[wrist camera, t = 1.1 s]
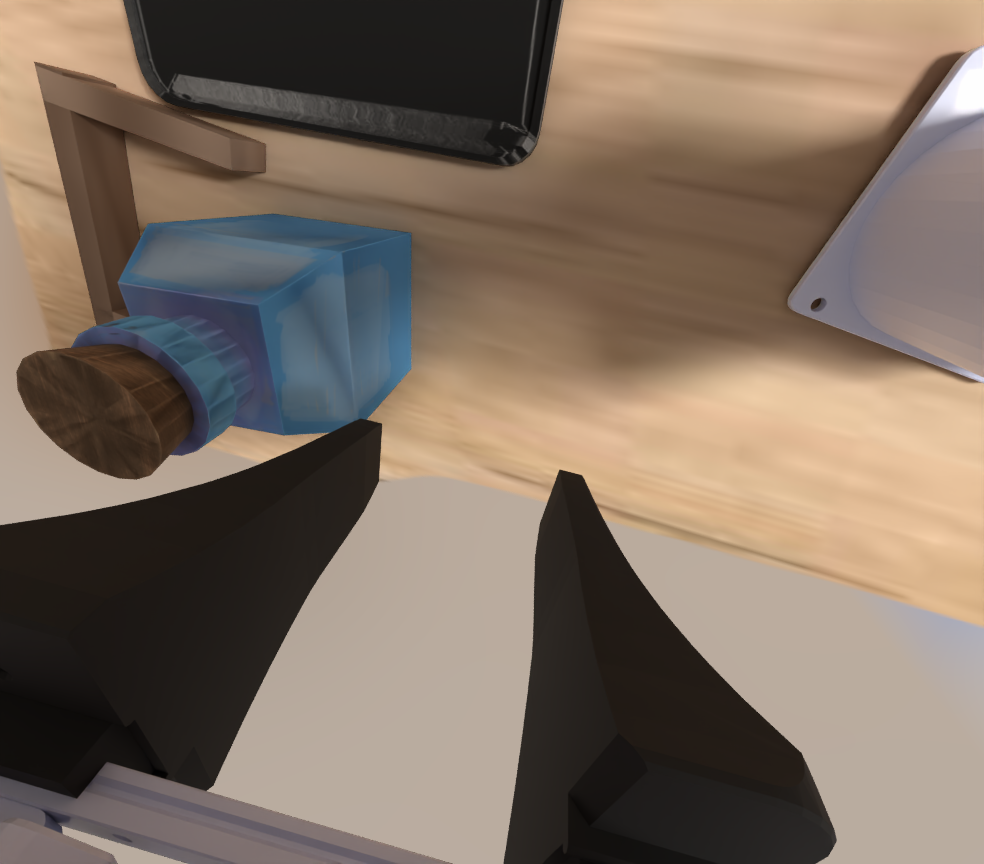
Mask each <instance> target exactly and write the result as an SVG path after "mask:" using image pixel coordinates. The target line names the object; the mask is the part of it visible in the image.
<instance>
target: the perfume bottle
mask: <svg viewBox="0 0 984 864" xmlns="http://www.w3.org/2000/svg"><path fill="white" fill-rule="evenodd" d="M118 285H119V288H120V291H121V293H122V296H123V299H124V301H125V304H126V307H127V310H128V312H129V315H130V316H129V317H126V318H122V319H119V320H116V321H112V322H109V323H105V324H102V325H98V326H95V327H92V328H90V329H88V330H86V331H84V332H82V333H80V334H79V335H78V337H77V338H76V340H75V342H74V344H73V345H72V347H71V348H65V349H56V350H47V351H37V352H35V353H33V354H32V355H29V356H27V357H25V358H23V359H22V361H21V364H20V366H19V368H18V370H17V386H18V391H19V393H20V395H21V398H22V400H23V403H24V405H25V407H26V409H27V411H28V412H29V413H30V415H31V416H32V418H33V419H34V420H35V422H36V423H37V425H38V426H39V427H40V429H41V430H42V431H43V432H44V433H46V435H47V436H48V437H49V438H50V439H51V440H52V441H53V442H55V443H56V445H57V446H59V447H60V448H61V449H63V450H64V451H66V452H67V453H68V454H70V455H71V456H72V457H74V458H75V459H76V460H78V461H79V462H81V463H83V464H85V465H87V466H89V467H91V468H93V469H94V470H97V471H98V472H101V473H104V474H107V475H110V476H114V477H117V478H122V479H140V478H143V477H146V476H150V475H151V474H152V473H153V472H154V471H155V470H156V469H157V468H158V467H159V466H160V465H161V464H162V463H163V461H164V460H165V459H166V458H167V457H168V456H169V455H181V456H182V455H185V454H189V453H192V452H195V451H197V450H199V449H200V448H202V447H203V446H204V445H206V444H207V443H209V442H210V441H212V440H213V439H214V438H216V437H217V436H219V435H220V434H222V433H223V432H224V431H225V430H226V429H227V428H228V427H229V426H230V425H231V426H237V427H242V428H248V429H253V430H258V431H264V432H269V433H274V434H280V435H298V434H314V433H331V432H333V431H335V430H337V429H339V428H341V427H343V426H345V425H347V424H349V423H351V422H353V421H356V420H358V419H360V418H362V419H366V420H367V419H368V417H369V416H370V415H371V414H372V413H373V412H374V411H375V409H376V408H377V407H378V406H379V405H380V404H381V403H382V401H383V400H384V399H385V398H386V397H387V396H388V395H389V393H390V392H391V391H392V390H393V389H394V388H395V387H396V385H397V384H398V383H399V382H400V381H401V380H402V379H403V377H404V376H405V375H406V374H407V373H408V372H409V371H410V370H411V233H408V232H401V231H394V230H387V229H379V228H372V227H365V226H358V225H351V224H343V223H336V222H329V221H322V220H315V219H308V218H300V217H293V216H286V215H279V214H264V215H252V216H239V217H227V218H214V219H201V220H189V221H176V222H164V223H151V224H148V225H147V227H146V229H145V231H144V232H143V234H142V236H141V238H140V240H139V242H138V244H137V246H136V248H135V250H134V252H133V254H132V256H131V257H130V259H129V261H128V263H127V265H126V267H125V269H124V271H123V273H122V275H121V277H120V279H119V281H118Z"/></svg>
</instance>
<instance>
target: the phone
mask: <svg viewBox="0 0 984 864" xmlns="http://www.w3.org/2000/svg"><path fill="white" fill-rule="evenodd" d="M123 1H124V5H125V9H126V13H127V17H128V22H129V26H130V30H131V34H132V39H133V43H134V47H135V51H136V55H137V60H138V63H139V65H140V68H141V71H142V74H143V76H144V77H145V79H146V81H147V83H148V84H149V86H150V87H151V88H152V89H153V91H154V92H155V93H156V94H157V95H158V96H159V97H161V98H162V99H163V100H165V101H166V102H168V103H171V104H173V105H176V106H181V107H185V108H190V109H195V110H200V111H206V112H211V113H217V114H222V115H228V116H233V117H239V118H244V119H250V120H255V121H261V122H266V123H272V124H277V125H282V126H288V127H293V128H299V129H304V130H310V131H315V132H321V133H326V134H332V135H337V136H343V137H348V138H354V139H359V140H364V141H370V142H375V143H381V144H386V145H392V146H397V147H403V148H408V149H414V150H419V151H425V152H430V153H436V154H441V155H447V156H452V157H457V158H463V159H468V160H474V161H479V162H485V163H490V164H496V165H501V166H513V165H516V164H518V163H521V162H523V161H524V160H525V159H526V158H527V157H528V156H530V155H531V153H532V151H533V150H534V148H535V147H536V145H537V142H538V138H539V135H540V131H541V125H542V120H543V114H544V108H545V103H546V97H547V91H548V86H549V80H550V74H551V69H552V63H553V57H554V52H555V46H556V40H557V35H558V29H559V24H560V18H561V12H562V7H563V1H564V0H123Z"/></svg>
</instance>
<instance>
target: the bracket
mask: <svg viewBox="0 0 984 864" xmlns="http://www.w3.org/2000/svg"><path fill="white" fill-rule="evenodd" d="M34 63H35V67H36V71H37V76H38V80H39V84H40V88H41V92H42V97H43V101H44V105H45V109H46V113H47V118H48V122H49V126H50V130H51V135H52V139H53V143H54V147H55V151H56V156H57V160H58V164H59V168H60V172H61V177H62V181H63V185H64V189H65V194H66V198H67V202H68V206H69V210H70V215H71V219H72V223H73V227H74V231H75V236H76V240H77V244H78V248H79V253H80V257H81V261H82V265H83V269H84V274H85V278H86V282H87V286H88V290H89V295H90V299H91V303H92V307H93V312H94V316H95V320H96V324H97V326H98V325H102V324H105V323H109V322H112V321H116V320H119V319H122V318H126V317H129V316H130V315H129V312H128V310H127V307H126V304H125V301H124V299H123V296H122V293H121V291H120V288H119V285H118V281H119V279H120V277H121V275H122V273H123V271H124V269H125V267H126V265H127V263H128V261H129V259H130V257H131V256H132V254H133V252H134V250H135V248H136V246H137V244H138V242H139V240H140V237H139V230H138V224H137V218H136V211H135V205H134V198H133V192H132V186H131V179H130V173H129V167H128V160H127V154H126V147H125V141H124V135H123V130H125V131H127V132H130V133H133V134H135V135H138V136H141V137H144V138H146V139H149V140H152V141H154V142H157V143H160V144H162V145H165V146H168V147H170V148H173V149H176V150H178V151H181V152H184V153H186V154H189V155H192V156H194V157H197V158H200V159H202V160H205V161H208V162H211V163H213V164H216V165H219V166H221V167H224V168H227V169H229V170H235V171H252V172H266V144H264V143H262V142H259V141H256V140H254V139H251V138H248V137H246V136H243V135H240V134H238V133H235V132H232V131H230V130H227V129H224V128H222V127H219V126H216V125H214V124H211V123H208V122H206V121H203V120H200V119H198V118H195V117H192V116H190V115H187V114H184V113H182V112H179V111H177V110H174V109H171V108H169V107H166V106H163V105H161V104H158V103H155V102H153V101H150V100H147V99H145V98H142V97H139V96H137V95H134V94H131V93H129V92H126V91H123V90H121V89H118V88H116V85H115V84H113V83H110V82H107V81H105V80H102V79H99V78H97V77H94V76H91V75H87V74H83V73H79V72H75V71H71V70H67V69H62V68H58V67H54V66H50V65H46V64H42V63H38V62H34Z"/></svg>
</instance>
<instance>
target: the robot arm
mask: <svg viewBox="0 0 984 864" xmlns="http://www.w3.org/2000/svg"><path fill="white" fill-rule="evenodd" d="M818 298H821V303H820V305H819V306H818V307H817V308H815V309H811V307H810V306H811V304H812V302H813V301H814V300H816V299H818ZM787 304H788V306H789V308H790V309H791V310H793V311H795V312H797V313H799V314H802V315H805V316H807V317H810V318H812V319H815V320H818V321H820V322H823V323H826V324H828V325H831V326H834V327H836V328H839V329H842V330H844V331H847V332H849V333H852V334H855V335H857V336H860V337H863V338H865V339H868V340H871V341H873V342H876V343H879V344H881V345H884V346H886V347H889V348H892V349H894V350H897V351H900V352H902V353H905V354H908V355H910V356H913V357H916V358H918V359H921V360H923V361H926V362H929V363H931V364H934V365H937V366H939V367H942V368H945V369H947V370H950V371H953V372H955V373H958V374H960V375H963V376H966V377H968V378H971V379H974V380H976V381H979V382H982V383H984V45H983V46H980V47H977V48H974V49H971V50H969V51H968V52H967V53H965V54H964V55H962V56H961V57H960V58H959V59H958V61H957V62H956V63H955V64H954V65H953V67H952V68H951V70H950V71H949V72H948V74H947V75H946V77H945V78H944V79H943V81H942V82H941V84H940V85H939V86H938V88H937V89H936V91H935V92H934V93H933V95H932V96H931V98H930V99H929V100H928V102H927V103H926V105H925V106H924V107H923V109H922V110H921V112H920V113H919V114H918V116H917V117H916V119H915V120H914V121H913V123H912V124H911V126H910V127H909V128H908V130H907V131H906V133H905V134H904V135H903V137H902V138H901V140H900V141H899V142H898V144H897V145H896V147H895V148H894V149H893V151H892V152H891V154H890V155H889V156H888V158H887V159H886V161H885V162H884V163H883V165H882V166H881V168H880V169H879V170H878V172H877V173H876V175H875V176H874V177H873V179H872V180H871V182H870V183H869V184H868V186H867V187H866V189H865V190H864V191H863V193H862V194H861V196H860V197H859V198H858V200H857V201H856V203H855V204H854V205H853V207H852V208H851V210H850V211H849V212H848V214H847V215H846V217H845V218H844V219H843V221H842V222H841V224H840V225H839V226H838V228H837V229H836V231H835V232H834V233H833V235H832V236H831V238H830V239H829V240H828V242H827V243H826V245H825V246H824V247H823V249H822V250H821V252H820V253H819V254H818V256H817V257H816V259H815V260H814V261H813V263H812V264H811V266H810V267H809V268H808V270H807V271H806V273H805V274H804V275H803V277H802V278H801V280H800V281H799V282H798V284H797V285H796V287H795V288H794V289H793V291H792V292H791V294H790V295H789V297H788V303H787ZM381 435H382V424H381V423H377V422H373V421H369V420H366V419H362V418H360V419H358V420H356V421H353V422H351V423H349V424H347V425H345V426H343V427H341V428H339V429H337V430H335V431H333V432H331V433H329V434H326V435H324V436H322V437H320V438H318V439H316V440H314V441H312V442H310V443H308V444H305V445H303V446H301V447H299V448H297V449H295V450H292V451H290V452H288V453H285V454H283V455H280V456H278V457H276V458H273V459H271V460H269V461H266V462H264V463H261V464H259V465H256V466H254V467H251V468H249V469H246V470H243V471H240V472H238V473H235V474H232V475H229V476H226V477H223V478H220V479H217V480H214V481H210V482H207V483H204V484H201V485H197V486H193V487H189V488H186V489H182V490H178V491H175V492H171V493H167V494H163V495H160V496H156V497H152V498H148V499H144V500H139V501H135V502H130V503H126V504H122V505H117V506H112V507H106V508H102V509H96V510H92V511H86V512H81V513H75V514H70V515H64V516H57V517H51V518H44V519H38V520H32V521H25V522H18V523H12V524H5V525H0V864H118V863H117V861H116V860H115V858H114V856H113V855H112V854H110V853H108V852H105V851H103V850H100V849H98V848H95V847H93V846H91V845H88V844H86V843H83V842H81V841H78V840H76V839H73V838H71V837H69V836H66V835H63V833H62V826H65V827H68V828H71V829H75V830H78V831H81V832H85V833H88V834H91V835H95V836H98V837H101V838H104V839H108V840H111V841H115V842H118V843H121V844H125V845H128V846H131V847H135V848H138V849H141V850H144V851H148V852H151V853H154V854H158V855H161V856H164V857H168V858H171V859H174V860H178V861H181V862H184V863H188V864H452V863H449V862H445V861H442V860H438V859H435V858H431V857H428V856H425V855H421V854H417V853H415V852H411V851H408V850H404V849H401V848H397V847H394V846H391V845H387V844H384V843H381V842H377V841H373V840H370V839H367V838H364V837H360V836H357V835H353V834H350V833H347V832H343V831H340V830H336V829H333V828H329V827H326V826H323V825H319V824H316V823H312V822H309V821H305V820H302V819H298V818H295V817H292V816H289V815H285V814H282V813H279V812H275V811H272V810H268V809H265V808H262V807H258V806H255V805H251V804H248V803H244V802H241V801H238V800H234V799H231V798H228V797H224V796H221V795H217V794H214V793H211V792H207V790H208V789H209V788H211V787H212V786H213V785H214V783H215V781H216V778H217V776H218V774H219V772H220V770H221V767H222V765H223V763H224V761H225V759H226V757H227V754H228V752H229V750H230V748H231V746H232V744H233V741H234V740H235V737H236V735H237V733H238V731H239V728H240V727H241V725H242V722H243V720H244V718H245V716H246V714H247V712H248V710H249V708H250V706H251V704H252V702H253V700H254V697H255V696H256V694H257V691H258V690H259V687H260V686H261V684H262V682H263V679H264V677H265V676H266V674H267V672H268V669H269V667H270V665H271V664H272V661H273V660H274V658H275V656H276V654H277V652H278V650H279V648H280V646H281V644H282V642H283V641H284V639H285V637H286V635H287V633H288V631H289V629H290V627H291V625H292V624H293V622H294V620H295V618H296V616H297V614H298V613H299V611H300V609H301V607H302V605H303V603H304V602H305V600H306V598H307V596H308V594H309V593H310V591H311V589H312V588H313V586H314V585H315V583H316V581H317V580H318V578H319V576H320V575H321V574H322V572H323V571H324V569H325V568H326V566H327V565H328V564H329V562H330V561H331V559H332V558H333V556H334V555H335V553H336V552H337V550H338V549H339V547H340V546H341V545H342V543H343V542H344V540H345V539H346V537H347V536H348V534H349V533H350V531H351V530H352V528H353V527H354V525H355V524H356V522H357V521H358V519H359V518H360V516H361V515H362V513H363V512H364V510H365V508H366V506H367V504H368V502H369V500H370V498H371V496H372V494H373V492H374V490H375V488H376V486H377V484H378V482H379V470H380V452H381ZM534 580H535V582H534V627H533V649H532V651H533V652H532V660H531V669H530V677H529V686H528V695H527V703H526V710H525V719H524V727H523V734H522V742H521V749H520V756H519V763H518V770H517V778H516V785H515V792H514V798H513V806H512V813H511V818H510V825H509V831H508V838H507V845H506V851H505V857H504V864H816V863H818V862H819V861H821V860H823V859H824V858H826V857H828V855H829V854H830V852H831V851H832V849H833V847H834V845H835V843H836V835H835V831H834V828H833V825H832V823H831V821H830V818H829V816H828V813H827V811H826V808H825V806H824V804H823V801H822V799H821V796H820V794H819V792H818V789H817V787H816V785H815V782H814V780H813V777H812V775H811V773H810V771H809V768H808V766H807V764H806V762H805V760H804V758H803V755H802V753H801V752H800V751H799V750H797V749H796V748H795V747H794V746H793V745H792V744H791V743H790V742H789V741H788V740H787V739H786V738H785V737H784V736H782V735H781V734H780V733H779V732H778V731H777V730H776V729H775V728H774V727H773V726H772V725H771V724H770V723H769V722H767V721H766V720H765V719H764V718H763V717H762V716H761V715H760V714H759V713H758V712H756V710H755V709H754V708H752V707H751V706H750V705H749V704H748V703H747V702H746V701H745V700H744V699H743V698H742V697H741V696H740V695H739V694H738V693H737V692H736V691H735V690H734V689H733V688H732V687H731V686H730V685H729V684H728V683H727V682H726V681H725V680H724V679H723V678H722V677H721V676H720V675H719V674H718V673H717V672H716V671H715V670H714V669H713V667H712V666H711V665H709V663H708V662H707V661H706V660H705V659H704V658H703V657H702V656H701V655H700V653H698V651H697V650H696V649H695V648H694V647H693V646H692V645H691V643H690V642H689V641H688V640H687V639H686V638H685V636H684V635H683V634H682V633H681V632H680V631H679V629H678V628H677V627H676V626H675V625H674V624H673V622H672V621H671V620H670V619H669V618H668V616H667V615H666V614H665V613H664V611H663V610H662V609H661V608H660V606H659V605H658V604H657V602H656V601H655V600H654V598H653V597H652V596H651V594H650V593H649V592H648V590H647V589H646V588H645V586H644V585H643V583H642V582H641V581H640V579H639V578H638V576H637V575H636V573H635V572H634V570H633V569H632V568H631V566H630V564H629V563H628V561H627V559H626V558H625V557H624V555H623V553H622V551H621V550H620V548H619V547H618V545H617V543H616V541H615V539H614V538H613V536H612V534H611V532H610V530H609V528H608V527H607V525H606V523H605V521H604V519H603V517H602V515H601V513H600V511H599V509H598V507H597V505H596V503H595V501H594V499H593V497H592V495H591V493H590V491H589V488H588V486H587V484H586V482H585V480H584V478H583V476H582V475H579V474H575V473H571V472H567V471H563V470H559V473H558V475H557V478H556V481H555V484H554V486H553V489H552V492H551V495H550V497H549V500H548V503H547V506H546V508H545V511H544V514H543V517H542V519H541V522H540V527H539V533H538V540H537V547H536V554H535V579H534ZM60 825H61V826H60Z"/></svg>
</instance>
